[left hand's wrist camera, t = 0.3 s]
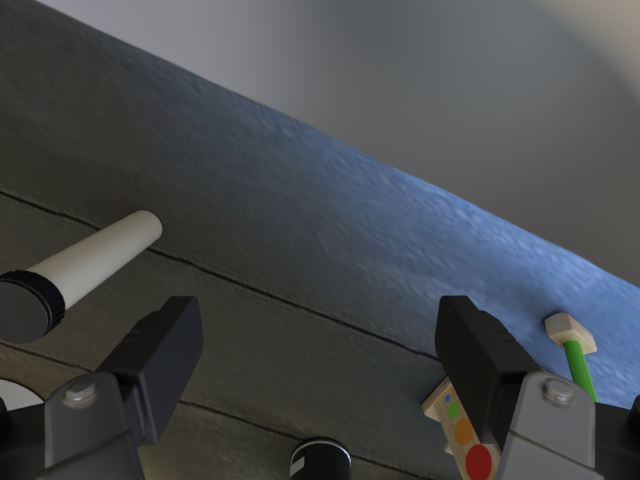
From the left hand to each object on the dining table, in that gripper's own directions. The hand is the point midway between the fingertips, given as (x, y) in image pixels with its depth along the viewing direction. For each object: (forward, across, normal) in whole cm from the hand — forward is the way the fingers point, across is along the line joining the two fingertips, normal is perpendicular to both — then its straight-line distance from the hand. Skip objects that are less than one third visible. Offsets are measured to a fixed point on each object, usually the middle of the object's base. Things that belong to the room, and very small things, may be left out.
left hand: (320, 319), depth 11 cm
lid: (+11, -21, -6) cm, 24 cm away
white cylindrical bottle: (+29, -21, -6) cm, 37 cm away
